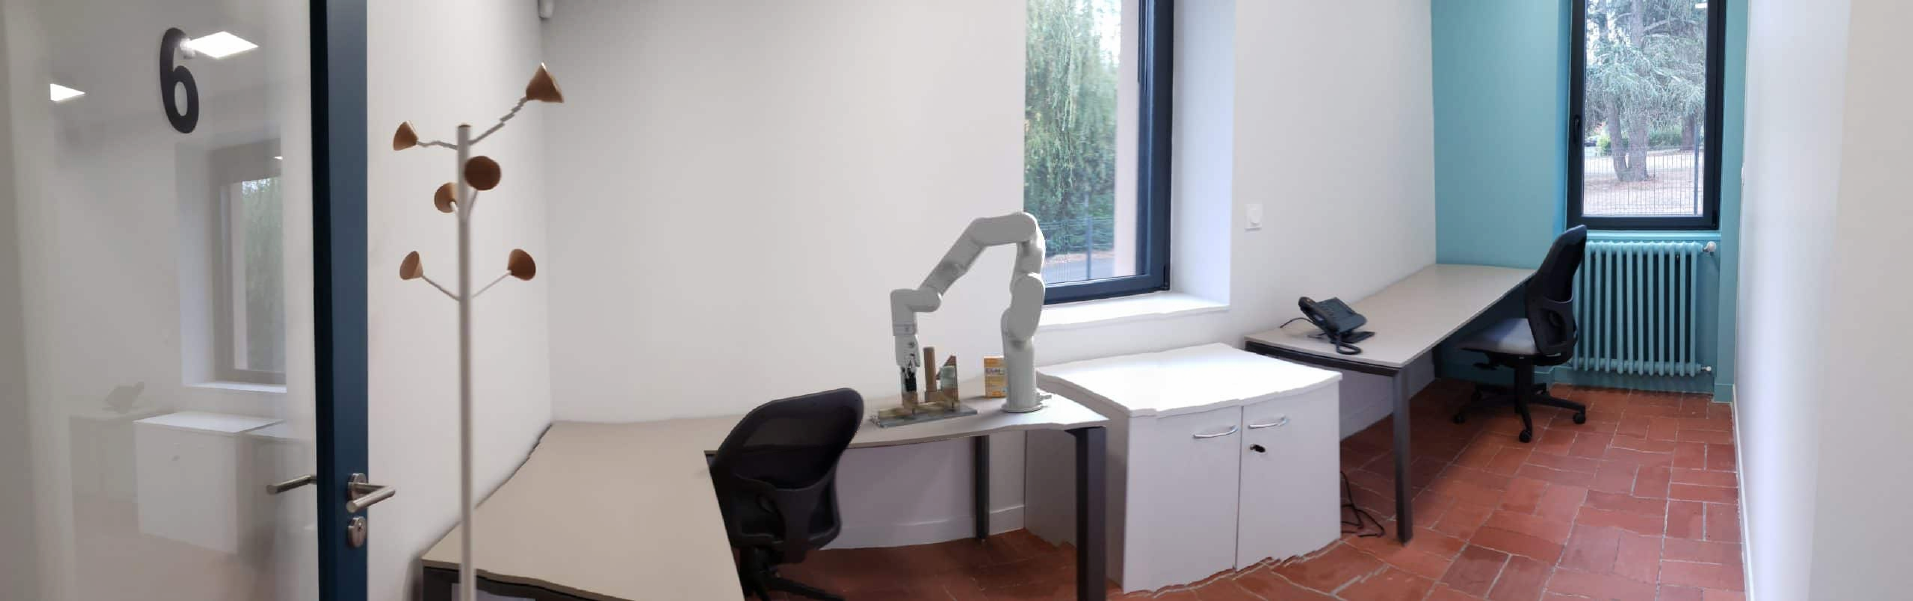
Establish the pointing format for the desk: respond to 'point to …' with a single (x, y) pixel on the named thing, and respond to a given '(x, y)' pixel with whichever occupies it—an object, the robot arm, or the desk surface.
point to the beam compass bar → (947, 401)
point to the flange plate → (924, 416)
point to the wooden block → (930, 375)
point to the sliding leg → (908, 395)
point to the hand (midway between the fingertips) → (909, 389)
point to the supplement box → (994, 376)
